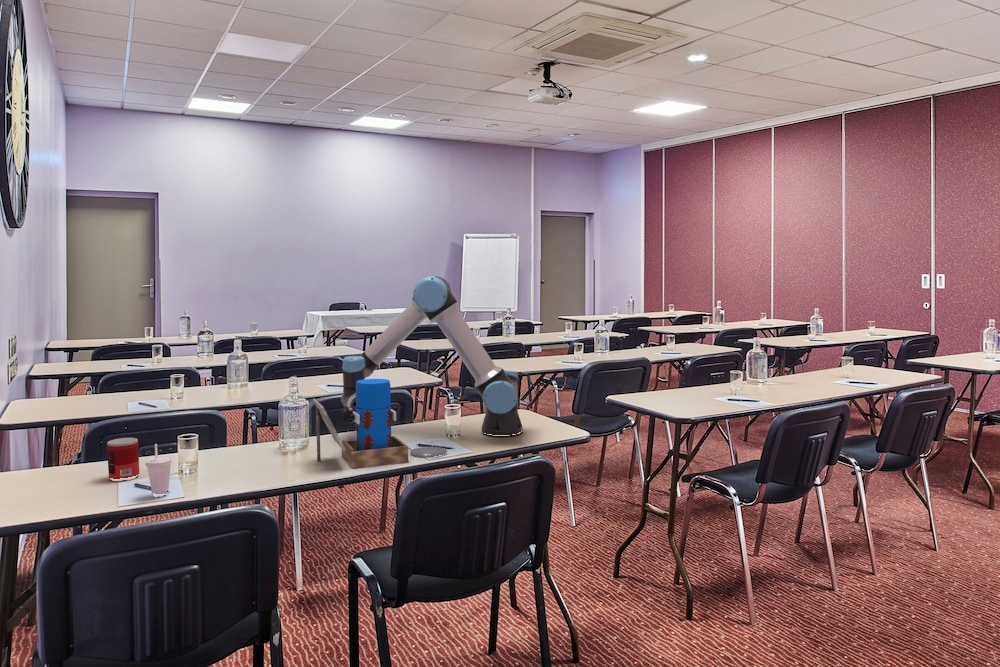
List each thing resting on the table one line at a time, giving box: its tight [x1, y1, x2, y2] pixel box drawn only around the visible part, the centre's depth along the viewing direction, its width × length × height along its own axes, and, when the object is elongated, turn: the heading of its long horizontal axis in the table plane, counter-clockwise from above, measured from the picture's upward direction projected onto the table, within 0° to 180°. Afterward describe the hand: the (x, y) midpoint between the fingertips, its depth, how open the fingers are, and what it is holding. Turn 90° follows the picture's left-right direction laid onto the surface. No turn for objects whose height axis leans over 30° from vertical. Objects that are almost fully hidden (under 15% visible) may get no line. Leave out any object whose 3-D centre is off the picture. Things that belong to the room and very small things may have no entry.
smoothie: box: [145, 443, 173, 494], centre depth 188 cm, size 6×6×14 cm
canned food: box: [106, 437, 140, 479], centre depth 204 cm, size 8×8×11 cm
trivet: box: [409, 446, 448, 459], centre depth 232 cm, size 12×12×1 cm
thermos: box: [355, 378, 392, 451], centre depth 223 cm, size 11×11×25 cm
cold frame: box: [312, 398, 409, 470], centre depth 222 cm, size 26×16×20 cm, turn 114°
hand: (376, 418), depth 219 cm, fingers closed on thermos, 11 cm apart
